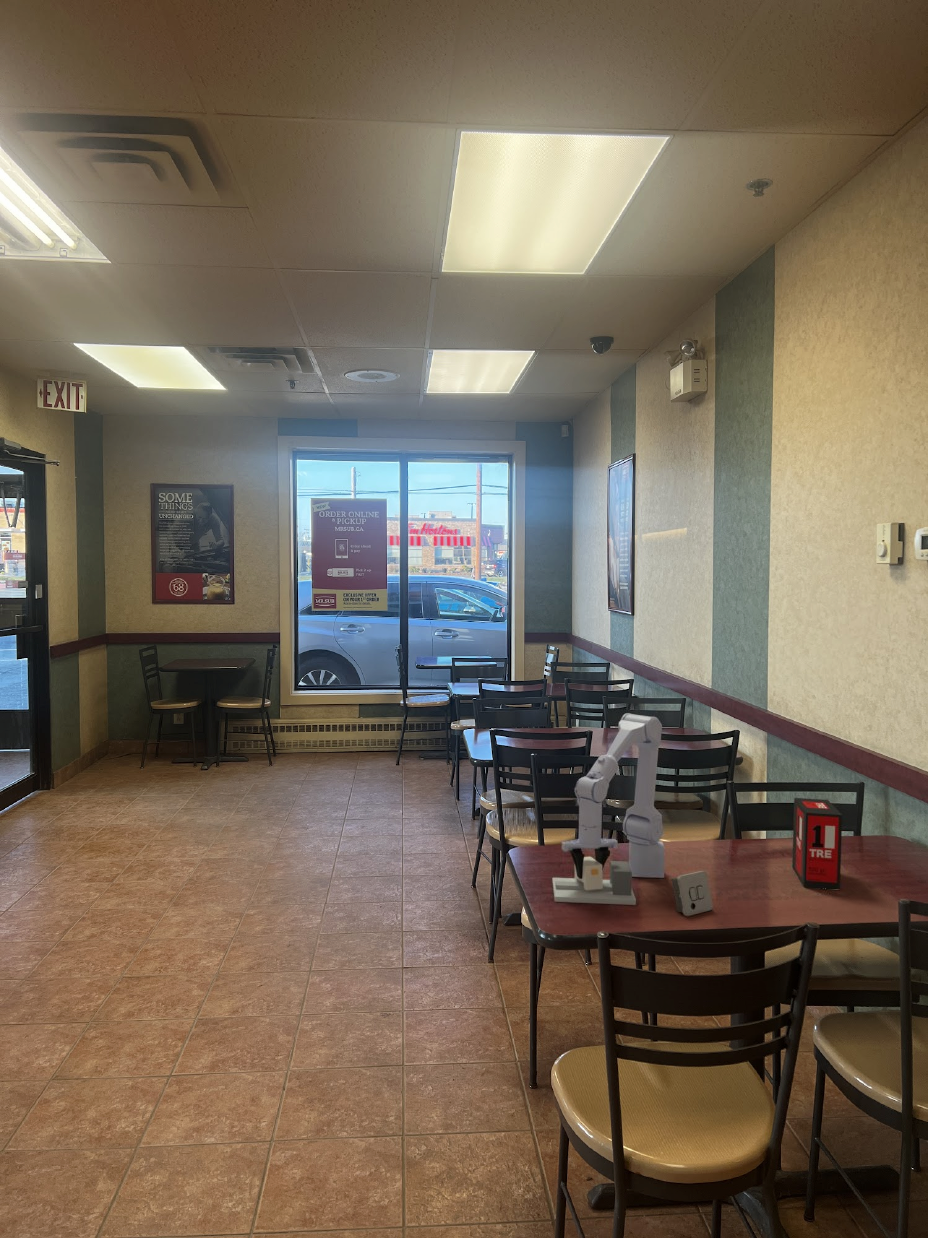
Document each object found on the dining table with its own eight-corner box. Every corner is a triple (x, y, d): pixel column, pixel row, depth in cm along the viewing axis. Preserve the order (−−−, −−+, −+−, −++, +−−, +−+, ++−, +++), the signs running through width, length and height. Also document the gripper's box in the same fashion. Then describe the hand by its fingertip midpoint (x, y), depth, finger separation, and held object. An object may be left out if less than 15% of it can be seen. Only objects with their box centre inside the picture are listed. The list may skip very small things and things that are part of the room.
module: (591, 879, 216) (590, 856, 216) (604, 889, 207) (603, 865, 207) (574, 881, 215) (574, 858, 215) (587, 891, 206) (586, 867, 206)
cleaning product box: (839, 890, 216) (842, 815, 215) (803, 887, 218) (806, 812, 217) (825, 870, 232) (827, 799, 232) (792, 867, 234) (794, 797, 233)
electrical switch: (686, 918, 196) (684, 878, 196) (670, 912, 200) (668, 874, 201) (713, 911, 201) (712, 872, 201) (697, 905, 205) (696, 868, 206)
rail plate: (628, 885, 217) (629, 858, 217) (635, 905, 203) (636, 876, 203) (552, 882, 219) (552, 855, 218) (554, 901, 205) (555, 873, 204)
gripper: (610, 819, 216) (609, 870, 216) (558, 821, 213) (557, 873, 213) (621, 826, 209) (620, 879, 210) (567, 829, 206) (566, 882, 206)
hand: (589, 877), depth 211 cm, fingers closed on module, 4 cm apart
